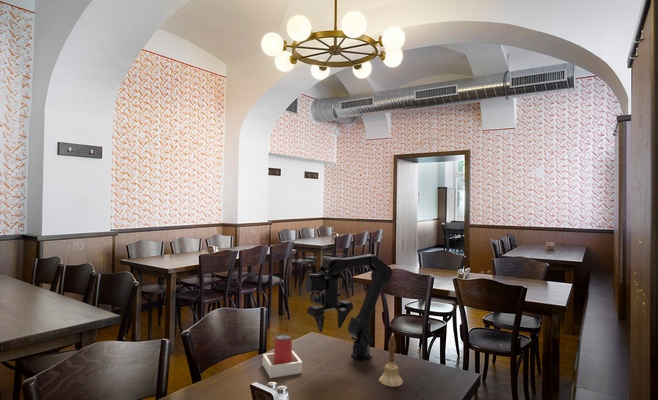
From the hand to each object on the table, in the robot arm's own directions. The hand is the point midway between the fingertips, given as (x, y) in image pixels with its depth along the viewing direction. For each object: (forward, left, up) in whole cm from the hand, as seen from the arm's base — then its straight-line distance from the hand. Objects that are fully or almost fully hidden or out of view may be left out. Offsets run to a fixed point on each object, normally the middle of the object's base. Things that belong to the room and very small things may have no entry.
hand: (330, 330), depth 149 cm
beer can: (+17, -6, -13) cm, 23 cm away
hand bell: (-9, +24, -13) cm, 29 cm away
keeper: (+17, -6, -13) cm, 23 cm away
